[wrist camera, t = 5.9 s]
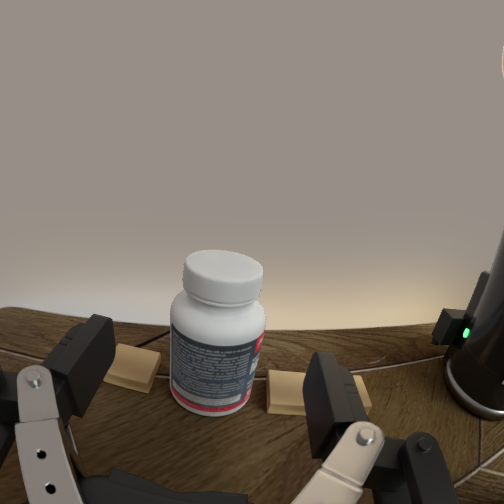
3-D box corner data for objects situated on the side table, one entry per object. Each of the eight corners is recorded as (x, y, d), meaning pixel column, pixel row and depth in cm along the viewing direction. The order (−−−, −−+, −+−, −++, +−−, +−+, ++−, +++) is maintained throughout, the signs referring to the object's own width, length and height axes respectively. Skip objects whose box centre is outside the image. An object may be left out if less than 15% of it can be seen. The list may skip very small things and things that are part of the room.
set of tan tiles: (119, 353, 19) (118, 342, 19) (356, 384, 20) (361, 375, 19) (103, 381, 16) (100, 370, 16) (367, 415, 17) (372, 406, 16)
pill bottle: (258, 416, 16) (291, 290, 13) (171, 419, 15) (170, 285, 12) (241, 362, 21) (261, 248, 18) (169, 361, 20) (173, 242, 17)
